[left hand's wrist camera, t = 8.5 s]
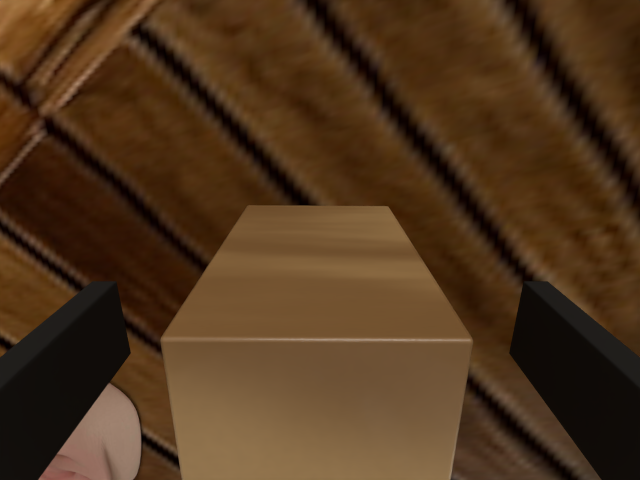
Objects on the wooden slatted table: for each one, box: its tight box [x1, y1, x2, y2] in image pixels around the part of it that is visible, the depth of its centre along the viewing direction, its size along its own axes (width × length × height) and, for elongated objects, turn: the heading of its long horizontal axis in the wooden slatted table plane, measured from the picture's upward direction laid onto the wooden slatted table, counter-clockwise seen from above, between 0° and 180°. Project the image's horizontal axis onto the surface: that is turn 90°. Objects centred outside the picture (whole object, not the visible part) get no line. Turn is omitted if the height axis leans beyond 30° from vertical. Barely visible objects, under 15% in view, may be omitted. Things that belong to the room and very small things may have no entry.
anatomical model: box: [38, 383, 141, 480], centre depth 32 cm, size 13×4×12 cm
